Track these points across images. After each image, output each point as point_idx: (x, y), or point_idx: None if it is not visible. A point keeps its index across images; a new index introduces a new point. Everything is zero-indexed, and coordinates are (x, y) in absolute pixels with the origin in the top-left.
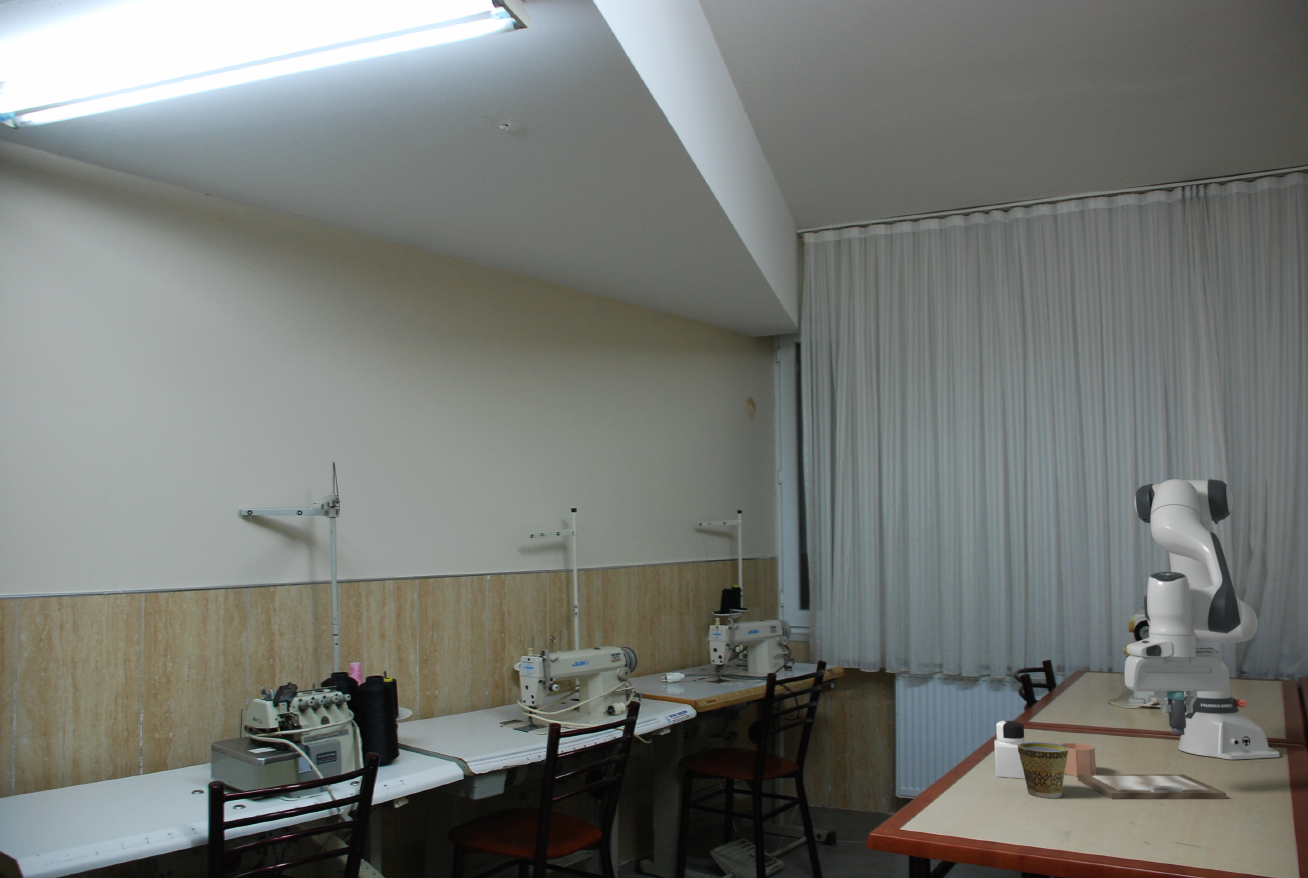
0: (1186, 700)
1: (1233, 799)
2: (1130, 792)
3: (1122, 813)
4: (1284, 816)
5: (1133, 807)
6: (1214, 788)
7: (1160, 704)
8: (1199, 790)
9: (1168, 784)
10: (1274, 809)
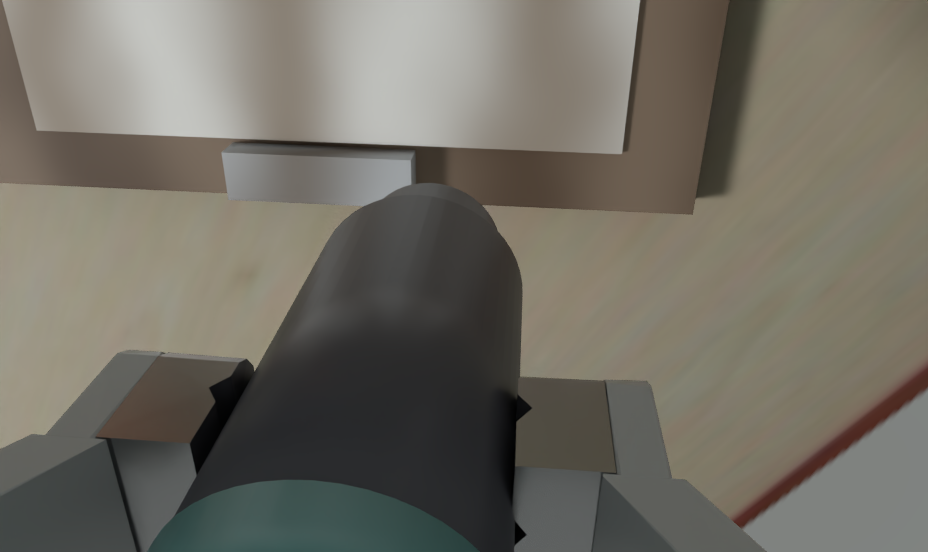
0: (645, 533)
1: (721, 211)
2: (99, 175)
3: (8, 400)
4: (726, 488)
5: (83, 321)
6: (702, 102)
7: (60, 428)
8: (559, 148)
9: (422, 7)
10: (783, 395)
